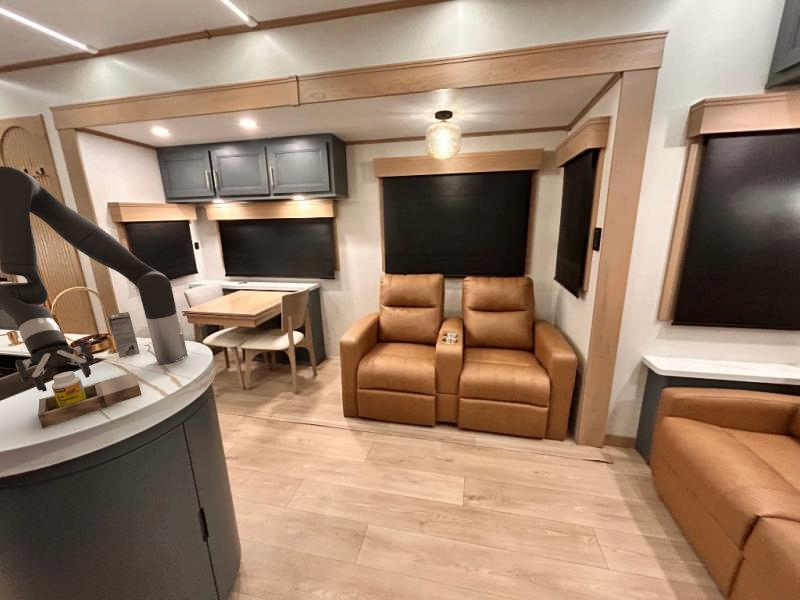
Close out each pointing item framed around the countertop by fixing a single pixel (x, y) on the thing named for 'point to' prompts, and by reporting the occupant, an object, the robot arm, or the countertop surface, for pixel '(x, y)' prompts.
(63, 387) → the supplement bottle
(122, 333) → the coffee box
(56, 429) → the countertop surface
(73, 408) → the cup caddy
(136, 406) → the countertop surface
